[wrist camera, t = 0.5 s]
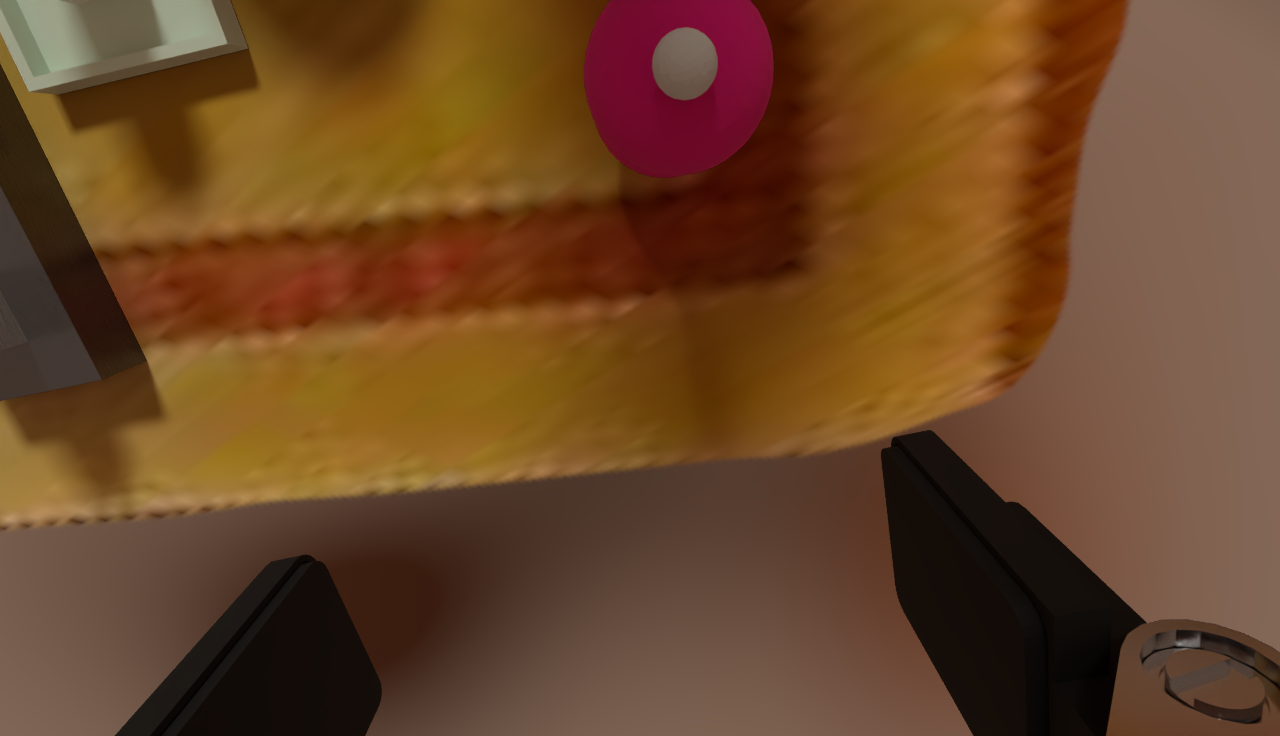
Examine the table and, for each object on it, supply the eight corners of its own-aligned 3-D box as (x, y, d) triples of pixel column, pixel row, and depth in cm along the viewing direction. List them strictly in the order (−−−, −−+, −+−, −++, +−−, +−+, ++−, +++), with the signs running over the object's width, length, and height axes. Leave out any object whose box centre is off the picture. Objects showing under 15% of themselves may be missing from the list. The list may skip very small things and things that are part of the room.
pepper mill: (752, 80, 35) (886, 2, 16) (683, 198, 37) (728, 253, 18) (638, 5, 33) (636, -177, 15) (574, 131, 35) (498, 115, 17)
